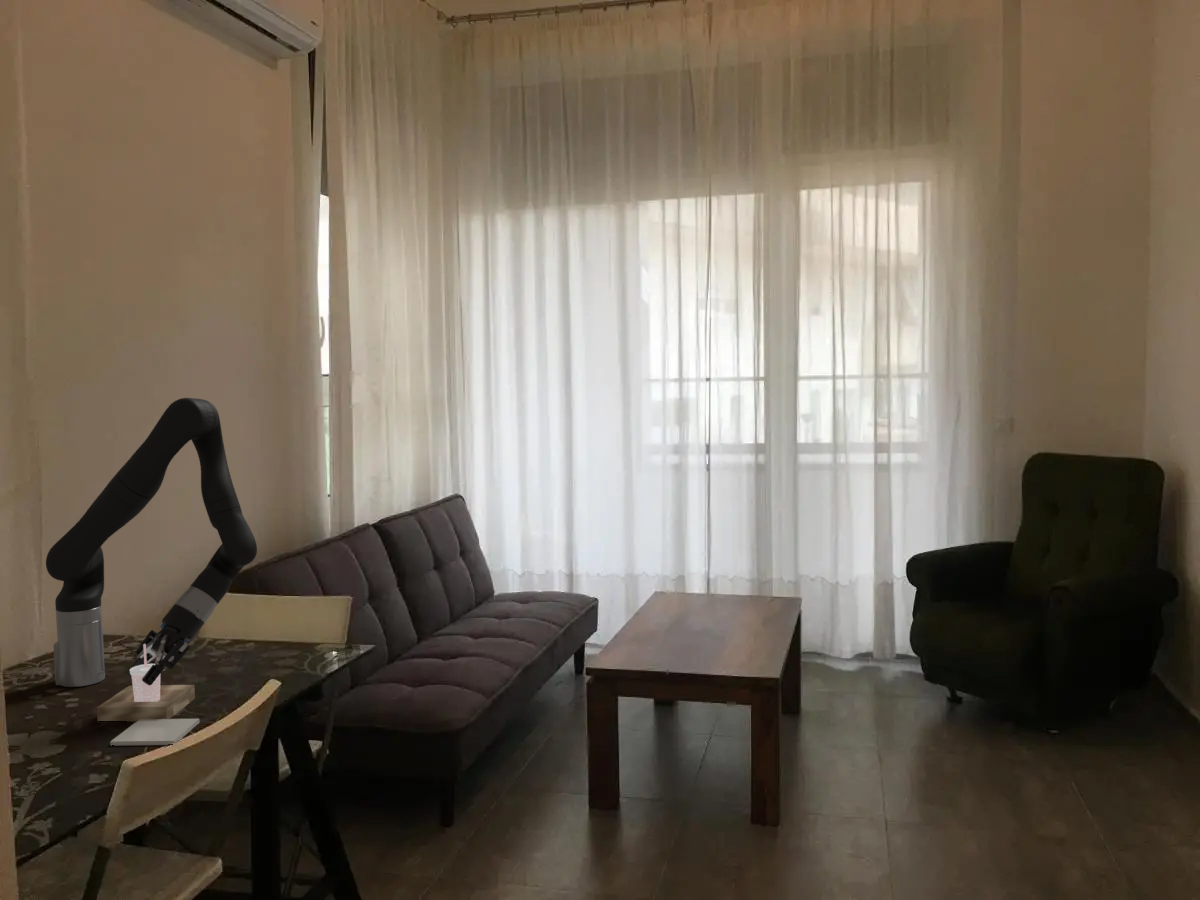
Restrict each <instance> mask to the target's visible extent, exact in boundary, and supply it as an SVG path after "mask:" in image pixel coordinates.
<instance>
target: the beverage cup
mask: <svg viewBox="0 0 1200 900" xmlns="http://www.w3.org/2000/svg"><path fill="white" fill-rule="evenodd" d="M143 648H144V649H143V650H144V664H143V665H138V666H134V667H132V666H131V667H132V668H131V667H130V668H131V669H130V668H129V669H130V674H131V676H132V678H131V683H132V686H133V693H134V701H135V702H158V701H159V700H160V685H161V676H162V675H161V673H162V672H161V673H160V674H159V676H158V677H157V678H156V680H155V681H154V682H153V684H152V685H147V684H146V683H144V682H143V681H142V678H143V677H144V676H145V674H146V673H147V672H148V670H149V669H150V668H151V667H152V665H155V663H148V664H147V658H146V644H143Z"/></svg>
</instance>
